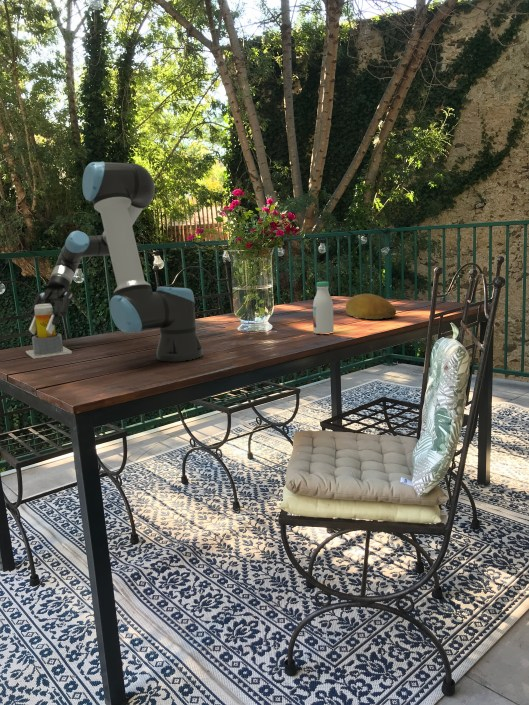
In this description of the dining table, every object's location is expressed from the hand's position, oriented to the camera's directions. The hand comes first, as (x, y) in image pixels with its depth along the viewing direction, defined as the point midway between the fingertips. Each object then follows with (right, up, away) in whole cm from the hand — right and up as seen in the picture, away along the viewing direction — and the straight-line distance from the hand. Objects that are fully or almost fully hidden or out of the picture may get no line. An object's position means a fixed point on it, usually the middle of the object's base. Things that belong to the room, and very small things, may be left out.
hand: (40, 331), depth 202 cm
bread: (+126, +9, +64) cm, 141 cm away
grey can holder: (+1, -7, +5) cm, 9 cm away
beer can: (+1, -5, +5) cm, 7 cm away
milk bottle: (+101, 0, +22) cm, 103 cm away
